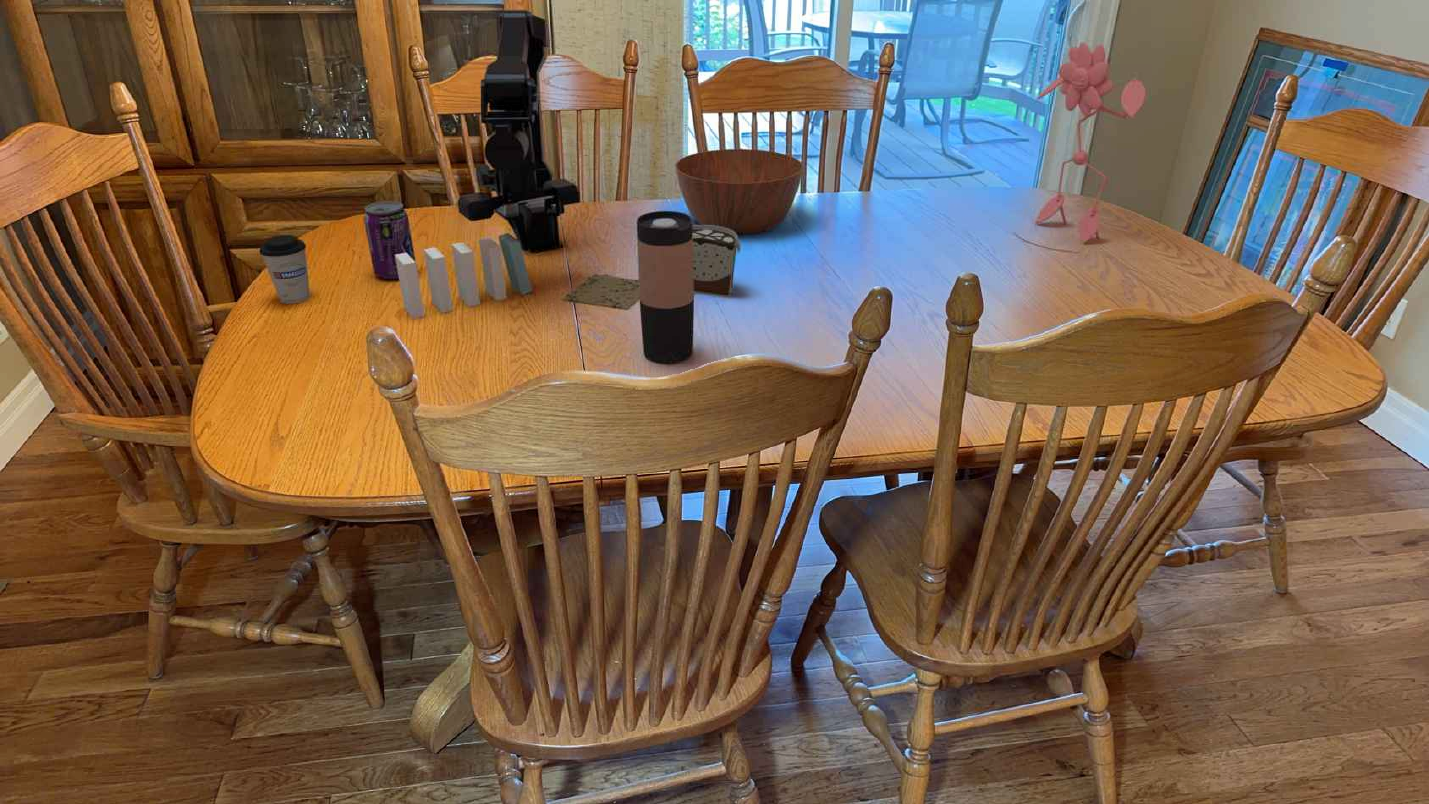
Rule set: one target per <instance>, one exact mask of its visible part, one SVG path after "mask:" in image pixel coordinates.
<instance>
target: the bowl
mask: <svg viewBox="0 0 1429 804" xmlns="http://www.w3.org/2000/svg"><path fill="white" fill-rule="evenodd" d="M804 169H805V166H804V164H803V162H802V161H801V160H799V159H798V158H796V157H794V156H791V155H788V154H785V153H781V152H776V151H773V150H772V151H771V150H770V151H769V150H762V149H752V148H750V149H749V148H728V149H727V148H726V149H712V150H707V151H700V152H695V153H692V154H688V155H687V156H684V157H682V158H680V159H679V160H678V161H676V162H675V172H676V177H677V178H676V179H677V181H678V185H679V188H680V189H679V190H680V192H681V196H682V198H683V200H684V201H683V202H684V204H685V206H686V208H687V210H688V212H689V213H690V215H691V216H692V219H694V220H695V221H696V222H697V224H698V225H714V226H720V227H725V228H728V229H730V230H732V231H734V232H735V233H736V234H737V235H747V234H748V235H749V234H750V235H751V234H757V233H761V232H766V231H768V230H771V229H773V228H776V226H778V225H779V224H781V222H783V220H785V218H786V216H787V215H788V213H789V211H790V209H791V207H792V205H793V203H794V201H795V198H796V196H797V193H798V190H799V188H800V184H801V181H802V176H803V173H804V172H803V171H804Z"/></svg>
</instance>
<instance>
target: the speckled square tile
mask: <svg viewBox="0 0 1429 804" xmlns="http://www.w3.org/2000/svg"><path fill="white" fill-rule="evenodd" d="M561 301H563V302H567V303H575V304H582V305H589V306H595V307H596V306H598V307H602V308H604V307H605V308H610V309H618V310H623V311H628V310H630V309H631V308H632V307H633V306H635V305H636V303H637V302H638V303H639V301H640V299H639V279H631V278H625V277H616V276H614V275H613V276H612V275H609V274H605V275H604V274H593V275H591V276H589V277H587V279H586V280H585V281H583V282H582V283H580V285H578V286H577V287H576V288H575V289H574V290H572V291H571V292H570V293H567V294H566V295H565V296H564V297H563V298H562V299H561Z"/></svg>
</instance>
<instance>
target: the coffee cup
mask: <svg viewBox="0 0 1429 804" xmlns="http://www.w3.org/2000/svg"><path fill="white" fill-rule="evenodd" d="M263 242H264V243H263V244H262V245H261V246H260V247H259V251H258V252H259V254H260V255H261V256H262V259H263V262H264V264H265V266H266V269H267V272H268V274H269V276H270V279H271V282H272V284H273V286H274V289H275V291H276V294H277V296H278V299H279V301H280V303H282V304H286V305H288V304H289V305H292V304H298V303H303V302H306V301H307V300H309V299H310V297H311V295H310V294H311V293H310V283H309V273H308V264H307V253H306V248H307V245H306V243H305V242H304V241H303V240H301V239H299V238H297V236H295V235H293V234H281V235H275V236H271V237H269V238H266V239H265V240H264V241H263Z"/></svg>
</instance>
